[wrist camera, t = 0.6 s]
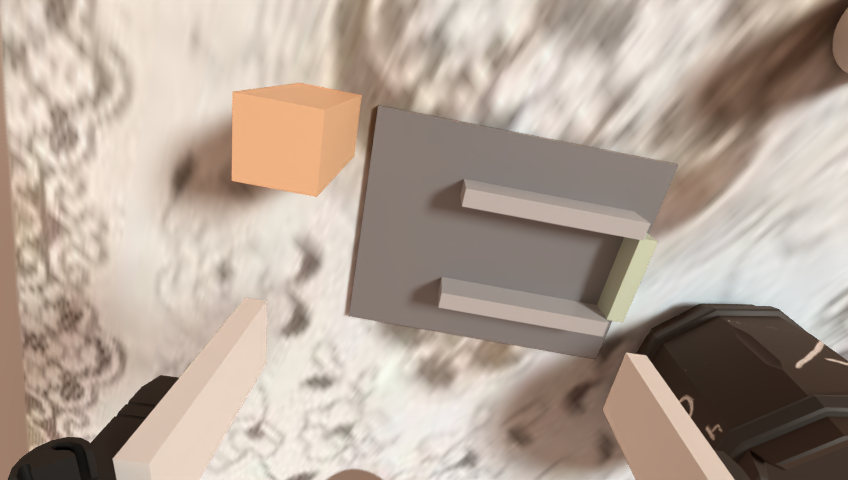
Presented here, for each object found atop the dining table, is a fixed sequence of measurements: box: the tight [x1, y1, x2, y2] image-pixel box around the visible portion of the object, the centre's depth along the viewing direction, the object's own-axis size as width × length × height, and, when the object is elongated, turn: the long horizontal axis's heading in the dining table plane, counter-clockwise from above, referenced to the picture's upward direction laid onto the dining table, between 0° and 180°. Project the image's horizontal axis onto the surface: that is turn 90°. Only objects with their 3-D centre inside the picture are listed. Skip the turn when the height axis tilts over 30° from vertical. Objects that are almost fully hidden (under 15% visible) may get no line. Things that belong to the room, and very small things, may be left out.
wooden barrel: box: [636, 304, 848, 480], centre depth 36 cm, size 18×18×16 cm
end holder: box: [349, 105, 678, 359], centre depth 37 cm, size 20×25×4 cm
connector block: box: [232, 83, 362, 197], centre depth 29 cm, size 5×5×12 cm
